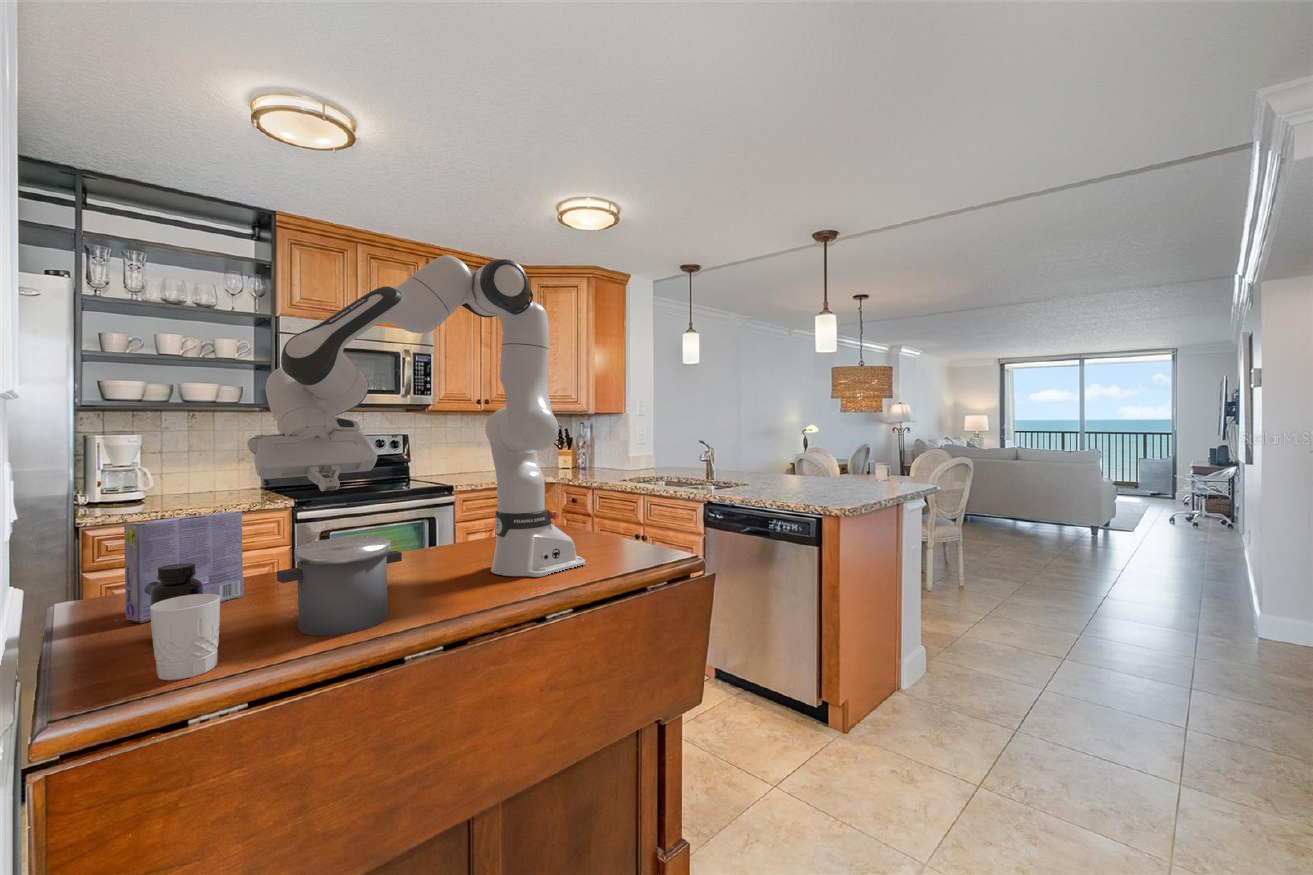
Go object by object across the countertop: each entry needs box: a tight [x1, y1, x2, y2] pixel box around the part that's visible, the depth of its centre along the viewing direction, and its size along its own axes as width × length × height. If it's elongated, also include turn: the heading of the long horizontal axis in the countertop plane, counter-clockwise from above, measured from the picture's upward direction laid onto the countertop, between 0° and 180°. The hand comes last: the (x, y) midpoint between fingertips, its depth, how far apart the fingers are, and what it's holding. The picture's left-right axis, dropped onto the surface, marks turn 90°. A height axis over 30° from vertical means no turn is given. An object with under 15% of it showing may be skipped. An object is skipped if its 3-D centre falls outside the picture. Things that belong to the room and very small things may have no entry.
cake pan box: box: [123, 510, 244, 624], centre depth 114 cm, size 19×5×18 cm, turn 157°
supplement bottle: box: [150, 563, 203, 643], centre depth 98 cm, size 7×7×12 cm
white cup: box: [150, 594, 221, 681], centre depth 85 cm, size 8×8×10 cm
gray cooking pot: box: [276, 550, 403, 637], centre depth 105 cm, size 20×14×12 cm
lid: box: [294, 535, 392, 564], centre depth 105 cm, size 15×15×2 cm
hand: (330, 488), depth 108 cm, fingers closed
